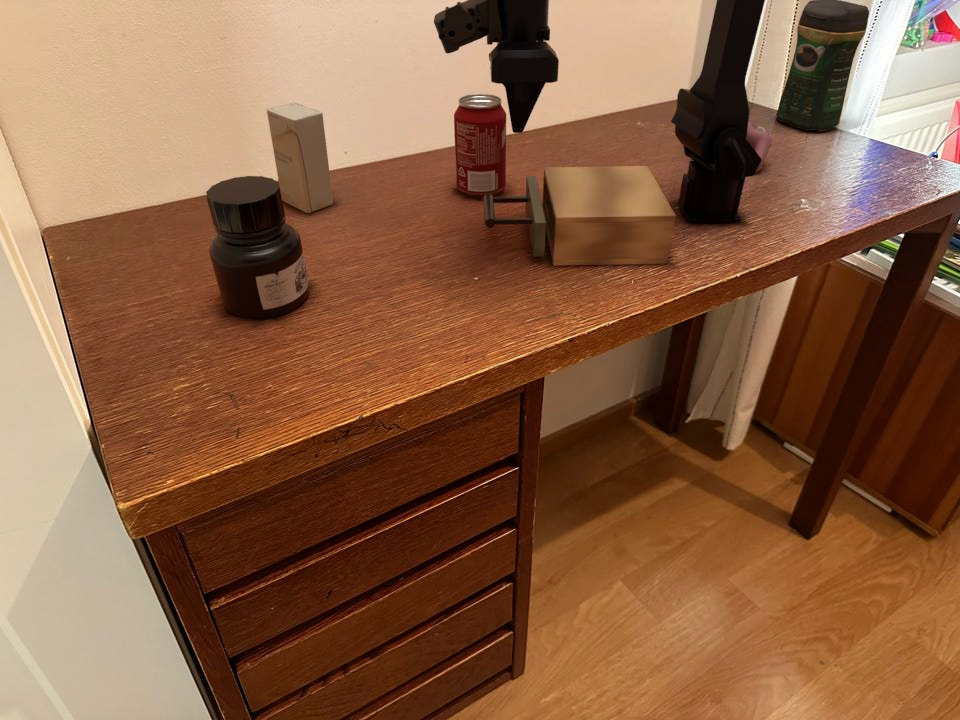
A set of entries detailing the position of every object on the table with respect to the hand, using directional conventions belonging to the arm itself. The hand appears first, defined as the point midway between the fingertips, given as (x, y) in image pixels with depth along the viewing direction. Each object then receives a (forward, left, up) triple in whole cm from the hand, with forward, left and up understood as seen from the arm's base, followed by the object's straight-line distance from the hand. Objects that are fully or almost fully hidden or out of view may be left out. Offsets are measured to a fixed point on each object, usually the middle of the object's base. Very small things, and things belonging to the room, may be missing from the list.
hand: (517, 129), depth 76 cm
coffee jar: (-51, -40, -13) cm, 66 cm away
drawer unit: (-10, 0, -13) cm, 17 cm away
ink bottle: (+27, +13, -13) cm, 33 cm away
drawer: (-5, 0, -12) cm, 13 cm away
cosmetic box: (+27, -11, -13) cm, 32 cm away
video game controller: (-33, -23, -13) cm, 42 cm away
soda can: (+4, -14, -13) cm, 20 cm away
